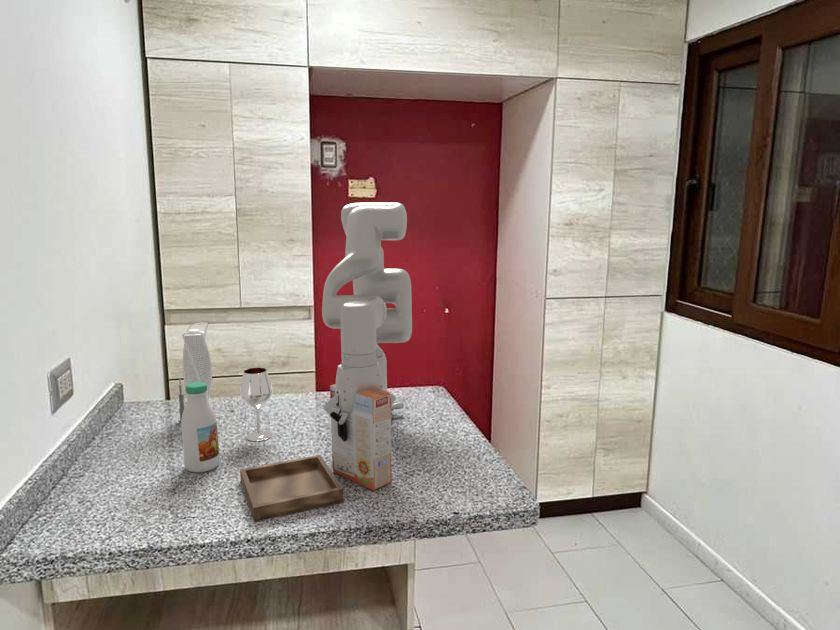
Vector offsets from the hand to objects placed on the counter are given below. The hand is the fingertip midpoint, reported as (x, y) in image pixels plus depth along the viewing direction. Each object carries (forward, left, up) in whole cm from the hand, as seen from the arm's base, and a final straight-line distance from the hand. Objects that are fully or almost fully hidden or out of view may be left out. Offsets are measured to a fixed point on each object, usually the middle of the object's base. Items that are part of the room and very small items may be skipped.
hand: (361, 435), depth 131 cm
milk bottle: (+32, -21, -10) cm, 40 cm away
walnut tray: (+16, 0, -10) cm, 19 cm away
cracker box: (0, 0, -10) cm, 10 cm away
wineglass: (+17, -33, -10) cm, 39 cm away
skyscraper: (+30, -52, -10) cm, 61 cm away
